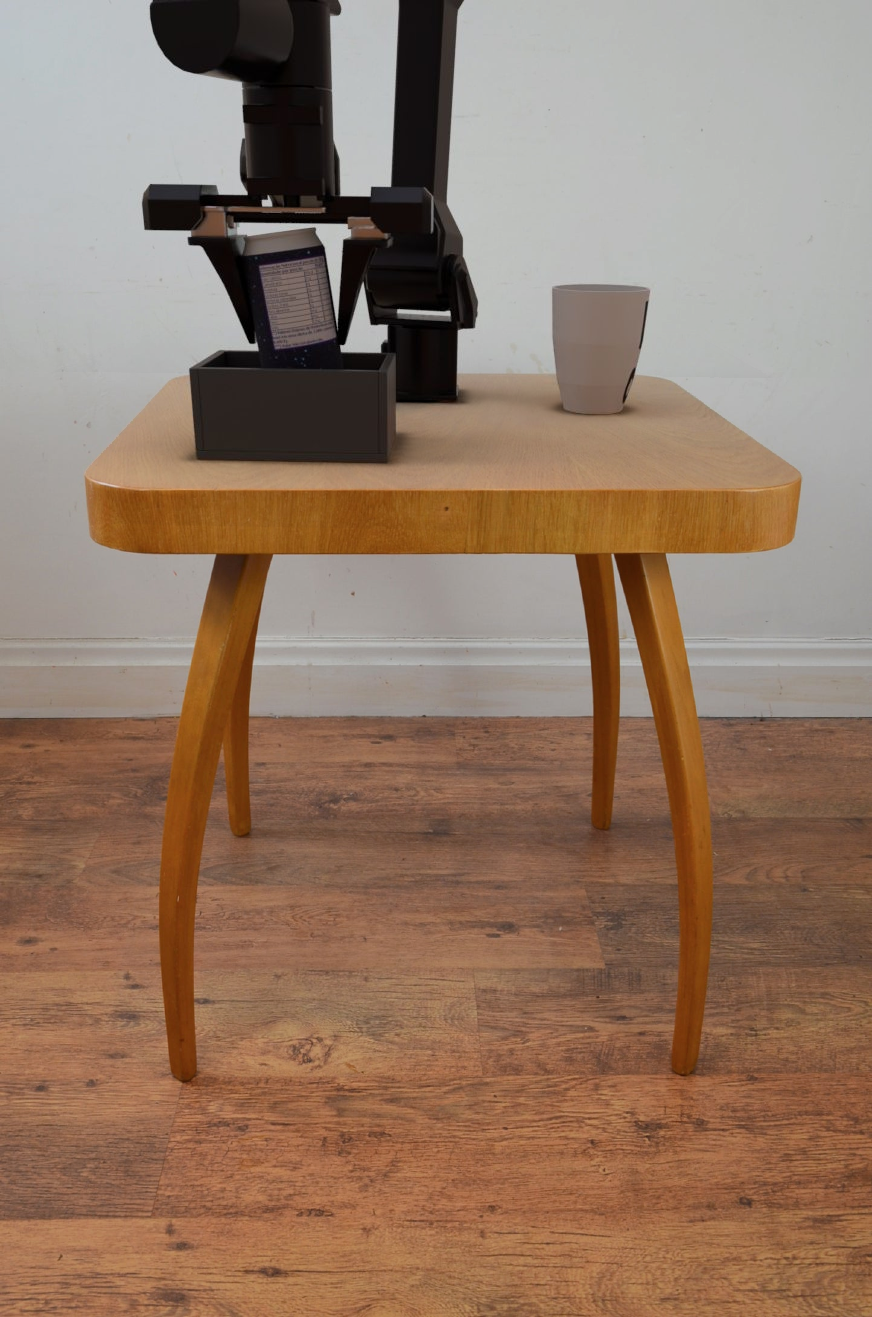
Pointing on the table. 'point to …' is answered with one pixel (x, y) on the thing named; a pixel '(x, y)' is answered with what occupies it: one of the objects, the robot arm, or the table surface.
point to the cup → (597, 343)
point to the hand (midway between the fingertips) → (298, 343)
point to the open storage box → (294, 409)
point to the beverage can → (291, 300)
